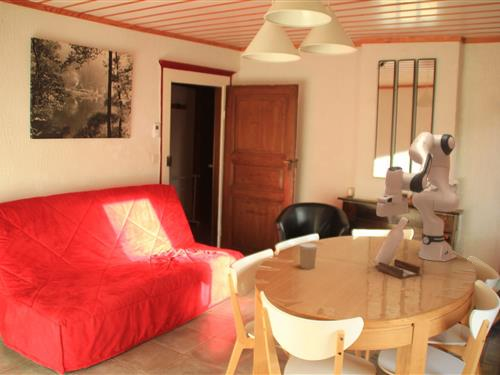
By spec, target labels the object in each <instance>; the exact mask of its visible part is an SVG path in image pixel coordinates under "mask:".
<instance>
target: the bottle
mask: <svg viewBox="0 0 500 375" xmlns="http://www.w3.org/2000/svg"><path fill="white" fill-rule="evenodd" d="M408 222H409V219H408V218H407V217H405V216H401V218H400V219H399V222H398V223H397V225H396V227H392V229H390V230H389V231H388V233H387V235H386V237H385V240H384V241H383V244H382V245H381V247H380V249H379V251H378V253H377V255H376V256H375V259H374V262H375V264H376V265H377V266H378V262H382V263H385V264H388V265H390V264H391V262H392V260H393V258H394V256H395V255H396V253H397V251H398V249H399V247H400V245H401V243H402V241H403V240H404V236H405V233H404V229H405V227H406V225H407V224H408Z"/></svg>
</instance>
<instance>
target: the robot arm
mask: <svg viewBox="0 0 500 375" xmlns="http://www.w3.org/2000/svg"><path fill="white" fill-rule="evenodd" d="M455 147H456V140H455V138H454V137H453V135H451V134H448V133H444V134H432V133H431V132H428V131H422V132H420V133H419V134H418V135H417V136H416V137H415V138H414V139H413V142H412V143H411V144H410V146H409V148H408V156H409V159H411V160H412V161H413V162H414V163H416V164H418V165H420V168H419V171H418V172H405V171H403V168H402V167H401V166H390V167H388V168H387V171H386V174H385V182H384V183H385V191H384V193H383V194H381V195H380V196H378V197H377V200H376V201H377V203H376V210H375V213H376V216H378V217H381V218H384V217H387V219H388V224H389V225H393V224H396V220H397V218H398V216H401V215H407V214H408V213H409V205H408V204H409V202H408V198H407V197H406V196H403V191H406V192H411V193H412V192H413V195H412V199H411V201H412V206H413V207H414V208H416V209H417V210H418V211H419V213H420V214H421V217H422V223H423V224H422V225H423V228H422V230H423V231H422V233H421V242H420V247H419V251H418V252H417V255H418V257H419V258H421V259H423V260H426V261H431V262H432V261H435V262H445V263H446V262H447V261H450V260H453V259H456V258H457V255H456V254H454V253H453V248H452V246H451V245H450V243H448V242H447V241H446V239H448V238H449V235H448V234H444V230H445V222H444V220H443V218H441V217H440V216H438V215H436V214H435V211H436V212H445V213H450V212H455V211H456V210H458V208H459V207H460V199H459V197H458V195H457V194H456V193H454V191H453V190H452V188H451V186H450V170H451V154H452V152H453V150H454V148H455ZM427 183H429V184H430V185H431V186H433V187H435V188H437V191H431V190H430V191H429V190H425V189H427Z"/></svg>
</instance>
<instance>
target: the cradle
mask: <svg viewBox="0 0 500 375" xmlns="http://www.w3.org/2000/svg"><path fill="white" fill-rule="evenodd" d="M377 271H379V272H381V273H384V274H386V275H389V276H390V277H391V276H392V277H394V278H397V279H400V280H402V279H406V278H407V279H408V278H413V277H416V276H417V277H418V276H420V275H421V274H420V271H421V266H420V265H419V266H418V265H416V264H413V263H409V262H406V261H405V260H404V261H403V260H401V259H397V258H395V259H394V263H393V265H390V264H389V265H388V264H385V263H382V262H378V265H377Z"/></svg>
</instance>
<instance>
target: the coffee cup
mask: <svg viewBox="0 0 500 375" xmlns="http://www.w3.org/2000/svg"><path fill="white" fill-rule="evenodd" d="M317 248H318V246H317V245H316V244H315V243H310V242H309V243H300V244H299V264H300V268H301V269H306V270H313V269H315V267H316V260H317V259H316V258H317V257H316V256H317Z"/></svg>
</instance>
